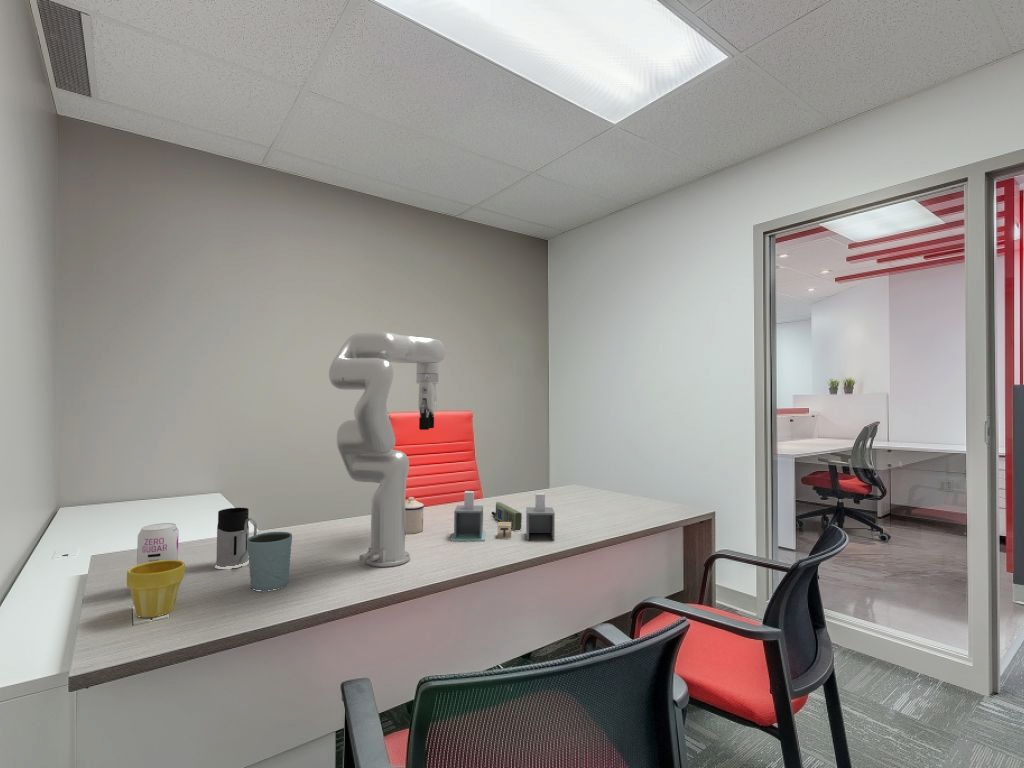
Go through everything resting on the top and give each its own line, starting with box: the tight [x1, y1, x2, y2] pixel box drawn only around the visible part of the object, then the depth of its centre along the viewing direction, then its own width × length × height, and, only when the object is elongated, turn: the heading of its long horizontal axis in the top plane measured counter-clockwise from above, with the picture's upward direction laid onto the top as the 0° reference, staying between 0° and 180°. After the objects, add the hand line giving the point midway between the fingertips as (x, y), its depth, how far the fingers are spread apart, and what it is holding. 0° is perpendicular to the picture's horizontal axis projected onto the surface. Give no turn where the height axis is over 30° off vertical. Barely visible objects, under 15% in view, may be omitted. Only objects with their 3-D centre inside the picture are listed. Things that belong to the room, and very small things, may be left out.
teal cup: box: [247, 531, 293, 592], centre depth 128 cm, size 10×10×12 cm
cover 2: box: [525, 492, 556, 541], centre depth 174 cm, size 9×9×14 cm
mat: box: [450, 530, 487, 542], centre depth 174 cm, size 11×11×1 cm
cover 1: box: [453, 490, 484, 539], centre depth 174 cm, size 9×9×14 cm
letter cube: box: [497, 521, 512, 539], centre depth 174 cm, size 5×4×4 cm
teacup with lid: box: [405, 496, 425, 535], centre depth 182 cm, size 12×9×12 cm
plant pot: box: [126, 559, 186, 618], centre depth 112 cm, size 10×10×10 cm
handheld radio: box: [491, 501, 523, 531], centre depth 193 cm, size 7×3×25 cm
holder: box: [215, 507, 258, 567], centre depth 142 cm, size 9×14×15 cm, turn 62°
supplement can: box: [136, 522, 180, 566], centre depth 125 cm, size 8×8×15 cm
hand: (426, 428), depth 177 cm, fingers open, 9 cm apart
